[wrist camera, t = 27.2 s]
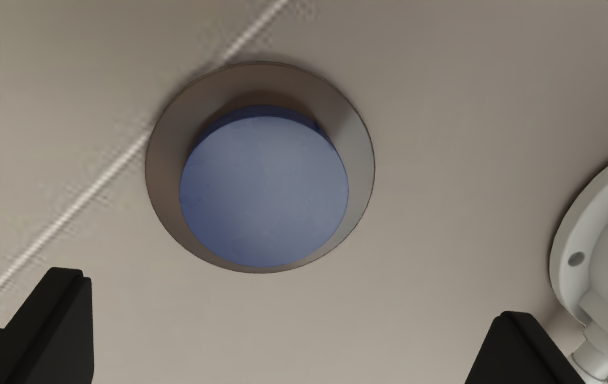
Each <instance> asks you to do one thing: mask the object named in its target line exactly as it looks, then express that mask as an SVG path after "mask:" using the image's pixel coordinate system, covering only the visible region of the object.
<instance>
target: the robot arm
mask: <svg viewBox="0 0 608 384" xmlns="http://www.w3.org/2000/svg"><path fill="white" fill-rule="evenodd" d="M549 274H550V279H551V284H552V288H553V291H554V293H555V295H556V296H557V298H558V300H559V302H560V303H561V304H562V305H563V306H564V308H565V309H566V310H567V311H568V312H569V313H570V314H571V315H572V317H573V318H575V319H576V320H577V321H578V322H580V323H581V324H582V325H584V326H585V327H586V328H585V329H584V330H583V333H584V336H585V337H586V338H587V339H586V340H585V341H584V343H583V344H582V345H581V346H580V347H579V348H578V349H577V350H576V351H575V352H574V353H573V352H572V353H571V354H570V356H569V357H568V358H567V359H566V357H565V356H564V355H563V353H562V352H561V351H560V350H559V348H558V347H557V346H556V345H555V343H554V342H553V341H552V339H551V338H550V337H549V336H548V334H547V333H546V332H545V331H544V329H543V328H542V327H541V325H540V324H539V323H538V322H537V320H536V319H535V318H534V317H533V316H532V315H531V314H529V313H524V312H514V311H504V312H502V313H501V315H500V316H497V317H496V318H495V319H494V320H493V322H492V324H491V327H490V329H489V331H488V333H487V335H486V338H485V340H484V342H483V344H482V346H481V349H480V351H479V353H478V355H477V357H476V360H475V362H474V364H473V366H472V368H471V371H470V373H469V375H468V377H467V379H466V382H465V384H604V383H605V382H607V383H608V166H607V167H606V168H605V169H604V170H603V171H602V172H600V173H599V174H598V175H597V176H596V177H595V178H594V179H593V180H592V181H591V182H590V183H589V184H588V185H587V187H586V188H585V189H584V190H583V191H582V192H581V193H580V194H579V195H578V197H577V198H576V200H575V201H574V203H573V204H572V206H571V207H570V209H569V210H568V212H567V213H566V215H565V216H564V218H563V220H562V223H561V225H560V227H559V229H558V231H557V233H556V236H555V238H554V242H553V246H552V250H551V254H550V270H549ZM93 374H94V347H93V315H92V283H91V279H90V278H89V277H83V272H82V270H79V269H69V268H59V267H52V268H50V269H49V270H48V271H47V272H46V274H45V275H44V276H43V278H42V279H41V280H40V282H39V283H38V284H37V286H36V287H35V288H34V290H33V291H32V292H31V294H30V295H29V296H28V298H27V299H26V300H25V302H24V303H23V304H22V306H21V307H20V308H19V310H18V311H17V312H16V314H15V315H14V316H13V318H12V319H11V320H10V322H9V323H8V324H7V326H6V327H5V328H4V329H2V328H0V384H91V383H92V379H93Z"/></svg>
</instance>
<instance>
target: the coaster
mask: <svg viewBox="0 0 608 384" xmlns="http://www.w3.org/2000/svg"><path fill="white" fill-rule="evenodd" d="M257 105H270V106H279V107H283V108H288V109H290V110H293V111H296V112H298V113H300V114H302V115H304V116H306V117H308V118H309V119H311V120H312V121H314V122H315V121H317V122H318V124H319V126H320V127H321V128H322V129H323V130H324V131H325V133H326V134H327V135H328V136H329V138H330V139H331V141H332V142H333V144H334V146H335V148H336V150H337V152H338V154H339V156H340V158H341V160H342V163H343V165H344V167H345V170H346V174H347V178H348V187H349V190H348V202H347V207H346V210H345V213H344V216H343V218H342V220H341V222H340V225H339V226H338V228H337V229H336V231H335V232H334V234H333V235H332V236H331V237H330V238H329V240H328V241H327V242H325V243H324V244H323V245H322V246H321V247H320V248H319V249H317V250H316V251H314V252H313V253H311V254H310V255H308V256H306V257H304V258H302V259H300V260H297V261H295V262H292V263H289V264H285V265H280V266H275V267H251V266H244V265H240V264H236V263H233V262H230V261H228V260H225V259H223V258H221V257H219V256H217V255H216V254H214V253H213V252H211V251H210V250H208V249H207V248H206V247H205V246H204V245H202V244H201V243H200V242H199V241H198V239H197V238H196V237H195V236H194V235H193V233H192V232H191V230H190V229H189V227H188V226H187V223H186V221H185V219H184V217H183V214H182V211H181V207H180V201H179V185H180V178H181V174H182V171H183V168H184V165H185V162H186V159H187V156H188V153H189V151H190V149H191V147H192V145H193V143H194V142H195V140H196V139H197V137H198V136H199V135H200V134H201V132H202V131H203V130H204V129H205V128H206V127H207V126H209V125H210V124H211V123H212V122H213V121H215V120H216V119H218V118H219V117H221V116H223V115H225V114H227V113H229V112H231V111H234V110H237V109H240V108H243V107H249V106H257ZM145 179H146V185H147V190H148V195H149V198H150V201H151V203H152V206H153V208H154V210H155V212H156V214H157V216H158V218H159V220H160V221H161V223H162V224H163V226H164V227H165V229H166V230H167V231H168V232H169V234H170V235H171V236H172V237H173V238H174V239H175V240H176V241H177V242H178V243H179V244H180V245H182V246H183V247H184V248H185V249H186V250H188V251H189V252H191V253H192V254H194V255H195V256H197V257H198V258H200V259H202V260H204V261H206V262H208V263H210V264H213V265H216V266H218V267H221V268H224V269H228V270H232V271H237V272H244V273H261V274H263V273H276V272H281V271H287V270H291V269H294V268H298V267H301V266H304V265H306V264H308V263H311V262H313V261H315V260H317V259H319V258H320V257H322V256H324V255H326V254H327V253H328V252H330V251H331V250H333V249H334V248H335V247H337V246H338V245H339V244H340V243H341V242H342V241H343V240H344V239H345V238H346V237H347V236H348V235H349V234H350V233H351V232H352V230H353V229H354V228H355V227H356V225H357V224H358V222H359V221H360V219H361V218H362V216H363V214H364V212H365V210H366V208H367V206H368V203H369V200H370V197H371V194H372V190H373V185H374V179H375V158H374V150H373V146H372V142H371V138H370V136H369V133H368V130H367V128H366V126H365V124H364V122H363V120H362V118H361V117H360V115H359V113H358V112H357V111H356V109H355V108H354V107H353V105H352V104H351V103H350V102H349V100H348V99H347V98H346V97H345V96H344V95H343V94H342V93H341V92H340V91H339V90H338V89H337V88H335V87H334V86H333V85H331V84H330V83H329V82H327V81H326V80H324V79H323V78H321V77H319V76H317V75H315V74H313V73H312V72H309V71H307V70H304V69H301V68H299V67H296V66H292V65H288V64H283V63H277V62H267V61H256V62H244V63H238V64H232V65H229V66H226V67H222V68H219V69H216V70H214V71H212V72H210V73H208V74H205V75H203V76H201V77H200V78H198V79H197V80H195V81H194V82H192V83H191V84H189V85H188V86H186V87H185V88H184V89H183V90H182V91H181V92H180V93H179V94H177V95H176V96H175V98H174V99H173V100H172V101H171V102H170V103H169V105H168V106H167V107H166V108H165V110H164V112H163V113H162V115H161V116H160V118H159V120H158V121H157V123H156V125H155V127H154V130H153V132H152V134H151V137H150V140H149V144H148V148H147V151H146V160H145Z"/></svg>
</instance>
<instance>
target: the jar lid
mask: <svg viewBox="0 0 608 384" xmlns="http://www.w3.org/2000/svg"><path fill="white" fill-rule="evenodd" d="M348 190H349V187H348V178H347V174H346V170H345V167H344V165H343V163H342V160H341V158H340V156H339V154H338V152H337V150H336V148H335V146H334V144H333V142H332V141H331V139H330V138H329V136H328V135H327V134H326V133H325V131H324V130H323V129H322V128H321V127H320V126H319V124H318V122H317V121H315V122H314V121H312V120H311V119H309V118H308V117H306V116H304V115H302V114H300V113H298V112H296V111H293V110H290V109H288V108H283V107H279V106H270V105H257V106H249V107H243V108H240V109H237V110H234V111H231V112H229V113H227V114H225V115H223V116H221V117H219V118H218V119H216V120H215V121H213V122H212V123H211V124H210V125H209V126H207V127H206V128H205V129H204V130H203V131H202V132H201V134H200V135H199V136H198V137H197V139H196V140H195V142H194V143H193V145H192V147H191V149H190V151H189V153H188V156H187V159H186V162H185V165H184V168H183V171H182V174H181V178H180V185H179V201H180V207H181V211H182V214H183V217H184V219H185V221H186V223H187V226H188V227H189V229H190V230H191V232H192V233H193V235H194V236H195V237H196V238H197V239H198V241H199V242H200V243H201V244H202V245H204V246H205V247H206V248H207V249H208V250H210V251H211V252H213V253H214V254H216V255H217V256H219V257H221V258H223V259H225V260H228V261H230V262H233V263H236V264H240V265H244V266H251V267H275V266H280V265H285V264H289V263H292V262H295V261H297V260H300V259H302V258H304V257H306V256H308V255H310V254H311V253H313V252H314V251H316V250H317V249H319V248H320V247H321V246H322V245H323V244H324V243H325V242H327V241H328V240H329V238H330V237H331V236H332V235H333V234H334V232H335V231H336V229H337V228H338V226H339V225H340V222H341V220H342V218H343V216H344V213H345V210H346V207H347V202H348Z"/></svg>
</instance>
